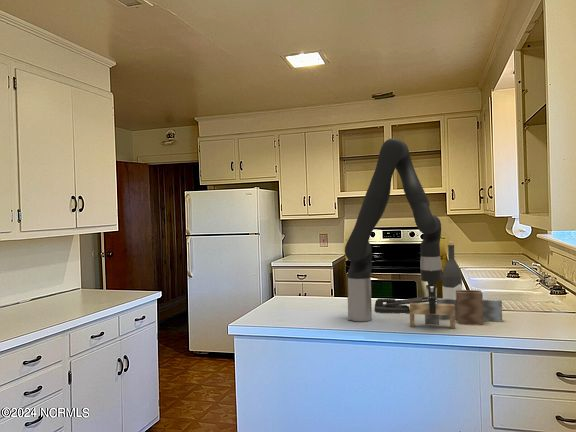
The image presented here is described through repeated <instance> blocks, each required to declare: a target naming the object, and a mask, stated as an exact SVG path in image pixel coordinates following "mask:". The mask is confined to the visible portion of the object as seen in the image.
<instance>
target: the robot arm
mask: <svg viewBox="0 0 576 432" xmlns="http://www.w3.org/2000/svg"><path fill="white" fill-rule="evenodd" d="M374 169H375V170H374V172H373V175H372V177H371V180H370V182H369V185H368V188H367V190H366V192H365V196H364V197H363V201H362V204H361V207H360V210H359V212H358V216H357V219H356V221H355V224H354V227H353V230H352V232H351V233H350V236H349V237H348V239H347V242H346V244H345V247H344V255H345V257H346V259H347V260H349V261H350V265H349V268H348V270H347V285H348V287H347V288H348V293H347V294H348V296H347V319H348V321H353V322H361V323H362V322H369V321H371V320H373V318H372V317H373V313H372V311H373V310H372V309H373V308H372V279H371V274H372V269H373V250H372V245H371V243H370V237H371V235H372V233H373V231H374V229H375V227H376V226H377V224H378V223H379V222H380V221H381V220H380V219H382V217H383V215H384V212H385V210H386V208H387V206H388V202H389V200H390V195H391V186H392V178H393V175H394V172H395V170H396V171H397V173H398V176H399V177H400V180H401V185H402V189H403V192H404V195H405V198H406V199H407V200H406V201H407V202H408V204H409V206H410V208H411V210H412V211H411V212H412V215H413V218H414V223H415V225H416V227H417V229H418V231H419V232H420V233H421V234H422V241H421V243H420V263H419V264H420V280H421V281H422V282H424V283H425V282H426V283H427V285H425V291H426V297H427V298H429V300H428V302H427V303H429V311H430V314H435V313H436V298H438V297H437V296H438V294H437V293H438V285H437V284H435V283H437V282H438V283H439V282H442V274H443V270H442V260H441V245H440V244H441V243H440V242H441V238H442V237H441V236H442V223H441V220H440V218H439V217H438V216H436V215H432V211H431V209H430V203H431V202H430V201H429V199H428V196H427V194H426V192H425V190H424V188H423V186H422V184H421V182H420V179H419V177H418V175H417V172H416V170H415V167H414V164H413V161H412V158H411V153H410V150H409V147H408V145H407V144H406V143H405V142H404V141H403V140H400V139H398V138H394V137H392V138H388V139H386V140H385V141H384V142H383V144H382V145H381V148H380V151H379V155H378V159H377V162H376V166H375V168H374Z"/></svg>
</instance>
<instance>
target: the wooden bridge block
mask: <svg viewBox="0 0 576 432" xmlns="http://www.w3.org/2000/svg"><path fill="white" fill-rule="evenodd" d="M415 315H424V321H425V322H424V324H425V325H430V326H431V325H432V326H433V325H436V326H439V325H440V319H439V315H450V320H449V326H450V327H449V328H450V329H451V330H456V320H455V306H454V304H436V313H435V314H430V311H429V303H428V302H425V303H410V304H409V326H410V328H415Z"/></svg>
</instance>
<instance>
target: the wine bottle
mask: <svg viewBox="0 0 576 432" xmlns="http://www.w3.org/2000/svg"><path fill="white" fill-rule="evenodd" d="M447 248H448V249H447V250H448V251H447V252H448V259H447V261H446V263H445V265H444V267H443V270H442V280H441V282H442V285H441V286H442V299H456V290H463V275H462V271H461V269H460V265H458V263H457V261H456V259H455V243H454V241H450V240H449V241H448V244H447Z"/></svg>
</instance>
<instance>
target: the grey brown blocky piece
mask: <svg viewBox="0 0 576 432" xmlns="http://www.w3.org/2000/svg"><path fill="white" fill-rule="evenodd" d="M481 290H482V289H481ZM481 290H479V289H477V290H476V289H474V290H473V289H470V290H469V289H462V290H456V299H443V298H441V297H439V298H438V297H437V298H436V304H454V306H455V321H457V325H475V324H480V325H479V326H483V325H484V322H496V321H502V322H503V300H501V299H484V297H483V291H481ZM445 319H450V315H439V320H445Z"/></svg>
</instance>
